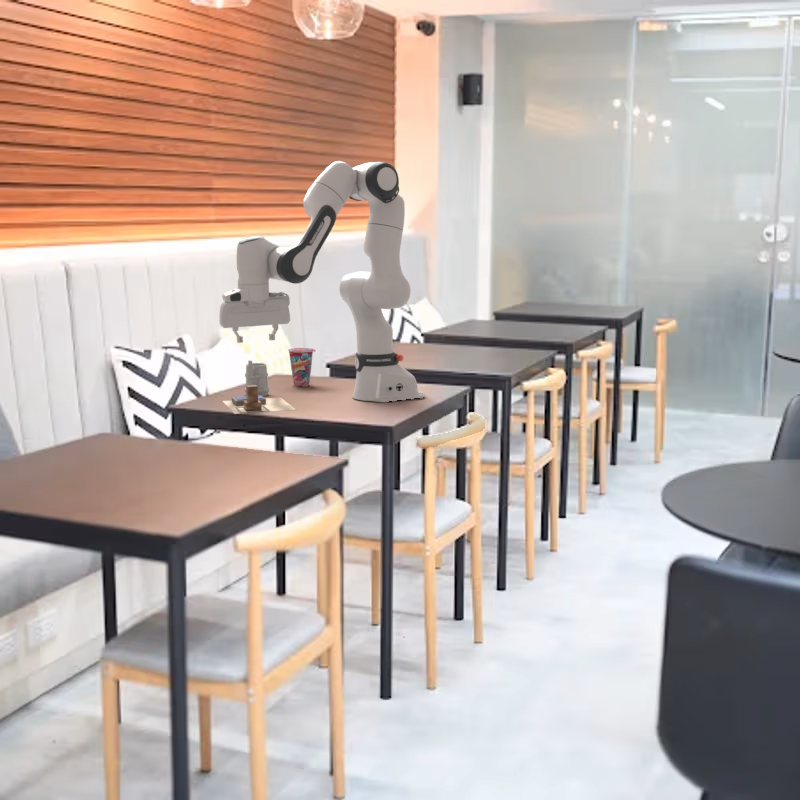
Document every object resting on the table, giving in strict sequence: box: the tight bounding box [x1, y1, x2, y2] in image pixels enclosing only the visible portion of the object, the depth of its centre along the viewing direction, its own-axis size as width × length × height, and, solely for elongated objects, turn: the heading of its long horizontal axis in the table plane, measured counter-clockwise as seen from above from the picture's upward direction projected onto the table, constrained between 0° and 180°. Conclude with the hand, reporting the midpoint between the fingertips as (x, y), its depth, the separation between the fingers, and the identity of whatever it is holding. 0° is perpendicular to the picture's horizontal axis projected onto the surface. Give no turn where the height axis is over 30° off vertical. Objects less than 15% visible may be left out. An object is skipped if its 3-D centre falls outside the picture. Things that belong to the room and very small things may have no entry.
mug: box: [244, 360, 270, 397], centre depth 349 cm, size 8×12×12 cm, turn 170°
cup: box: [287, 347, 316, 387], centre depth 369 cm, size 9×8×12 cm
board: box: [222, 395, 297, 415], centre depth 330 cm, size 18×21×3 cm
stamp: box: [243, 384, 262, 411], centre depth 323 cm, size 4×4×7 cm
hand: (256, 341), depth 322 cm, fingers open, 8 cm apart
